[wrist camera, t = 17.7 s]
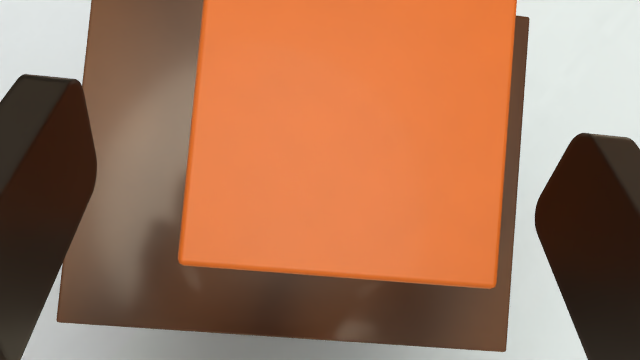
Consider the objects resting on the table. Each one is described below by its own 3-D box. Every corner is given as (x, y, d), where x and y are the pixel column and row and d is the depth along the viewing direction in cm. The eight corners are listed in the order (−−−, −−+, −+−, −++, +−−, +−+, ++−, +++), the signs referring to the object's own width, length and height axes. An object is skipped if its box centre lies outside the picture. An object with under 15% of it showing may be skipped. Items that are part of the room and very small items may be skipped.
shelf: (131, 279, 25) (55, 322, 16) (156, 46, 26) (94, -38, 17) (426, 301, 26) (507, 352, 17) (443, 78, 27) (530, 16, 18)
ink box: (228, 229, 17) (175, 265, 7) (242, 84, 17) (208, -63, 7) (372, 241, 17) (498, 291, 8) (384, 99, 17) (520, -24, 8)
